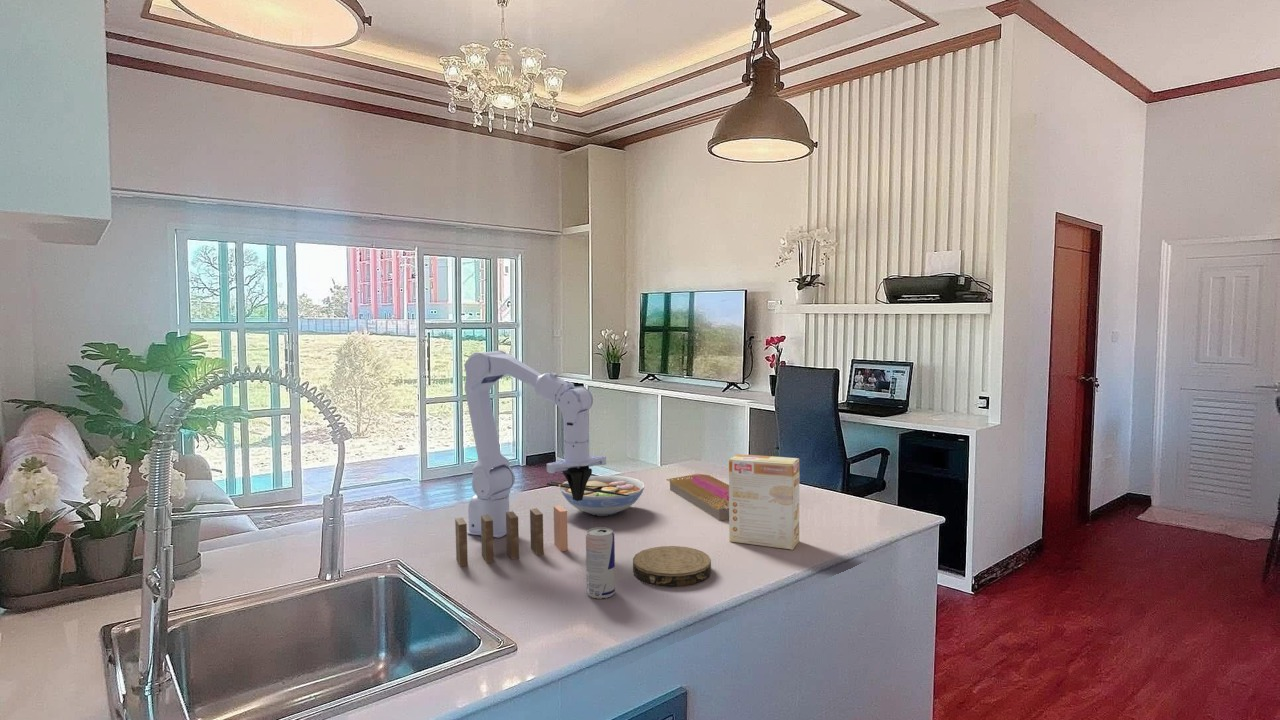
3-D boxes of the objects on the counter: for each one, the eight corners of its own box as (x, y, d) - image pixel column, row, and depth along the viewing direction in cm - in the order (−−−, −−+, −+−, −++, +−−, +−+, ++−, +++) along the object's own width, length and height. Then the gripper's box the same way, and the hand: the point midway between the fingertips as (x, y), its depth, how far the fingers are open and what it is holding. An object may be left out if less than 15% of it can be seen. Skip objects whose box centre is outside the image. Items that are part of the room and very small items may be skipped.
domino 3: (511, 558, 149) (510, 518, 149) (506, 551, 154) (505, 512, 153) (519, 557, 150) (518, 517, 149) (513, 550, 155) (512, 511, 154)
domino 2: (486, 562, 147) (485, 521, 147) (481, 555, 152) (480, 515, 151) (493, 561, 148) (492, 520, 147) (489, 554, 152) (488, 514, 152)
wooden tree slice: (726, 577, 138) (726, 563, 138) (661, 595, 130) (661, 579, 130) (680, 554, 152) (680, 541, 152) (618, 569, 143) (618, 555, 143)
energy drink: (619, 589, 132) (618, 528, 131) (609, 601, 127) (608, 537, 126) (593, 586, 134) (592, 525, 133) (582, 597, 129) (581, 534, 128)
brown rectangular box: (666, 490, 207) (665, 470, 207) (709, 486, 212) (709, 466, 212) (717, 523, 174) (717, 499, 174) (767, 517, 179) (767, 494, 179)
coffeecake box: (800, 541, 159) (800, 457, 158) (793, 550, 152) (793, 463, 151) (737, 533, 165) (737, 452, 164) (728, 542, 159) (728, 458, 158)
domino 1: (460, 566, 145) (458, 524, 144) (456, 559, 150) (455, 518, 149) (467, 565, 146) (466, 523, 145) (463, 558, 150) (462, 517, 150)
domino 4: (536, 555, 152) (535, 514, 151) (530, 548, 156) (529, 509, 156) (543, 554, 152) (542, 513, 152) (537, 547, 157) (536, 508, 156)
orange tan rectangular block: (560, 551, 154) (560, 511, 153) (554, 544, 158) (553, 506, 158) (567, 550, 154) (567, 510, 154) (561, 543, 159) (560, 505, 158)
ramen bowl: (665, 508, 187) (664, 478, 186) (617, 531, 167) (617, 498, 167) (590, 496, 200) (590, 468, 199) (538, 516, 181) (538, 485, 180)
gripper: (556, 447, 149) (558, 509, 150) (612, 439, 157) (613, 498, 158) (541, 442, 155) (543, 502, 156) (596, 435, 163) (597, 491, 164)
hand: (577, 499), depth 157 cm, fingers closed
